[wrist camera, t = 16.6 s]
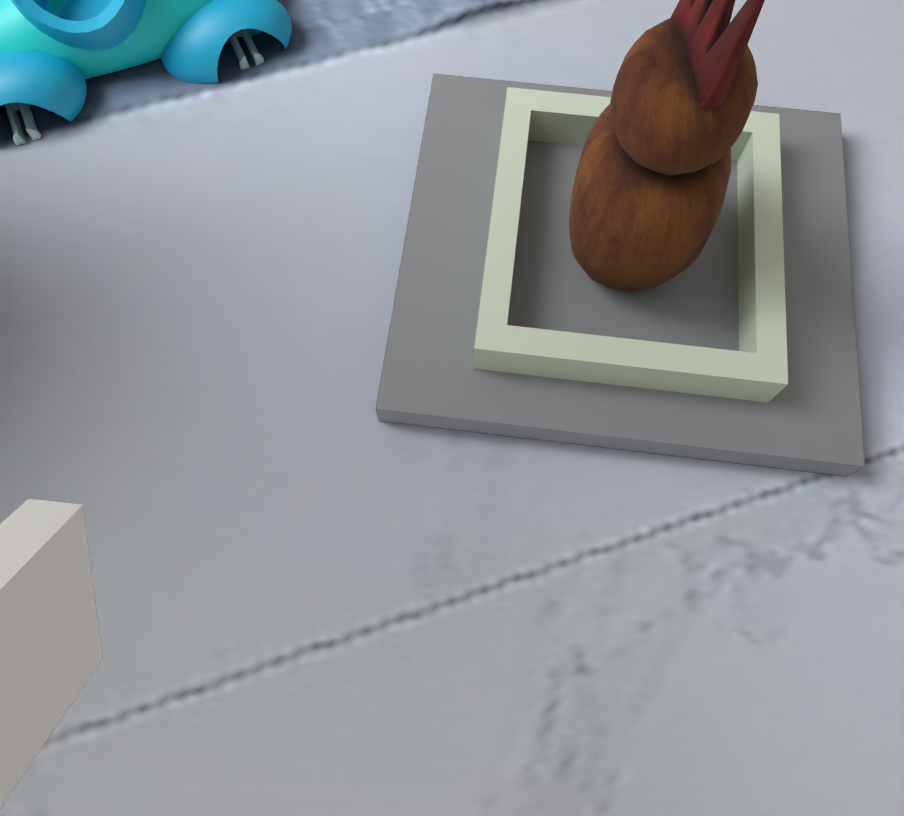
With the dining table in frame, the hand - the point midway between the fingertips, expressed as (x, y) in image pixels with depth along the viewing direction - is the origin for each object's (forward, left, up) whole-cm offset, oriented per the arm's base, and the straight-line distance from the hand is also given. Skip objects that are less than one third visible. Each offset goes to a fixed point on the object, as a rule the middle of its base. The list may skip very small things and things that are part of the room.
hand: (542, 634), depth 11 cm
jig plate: (+4, +19, -20) cm, 28 cm away
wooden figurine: (+4, +19, -19) cm, 27 cm away
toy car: (-23, +30, -21) cm, 43 cm away
